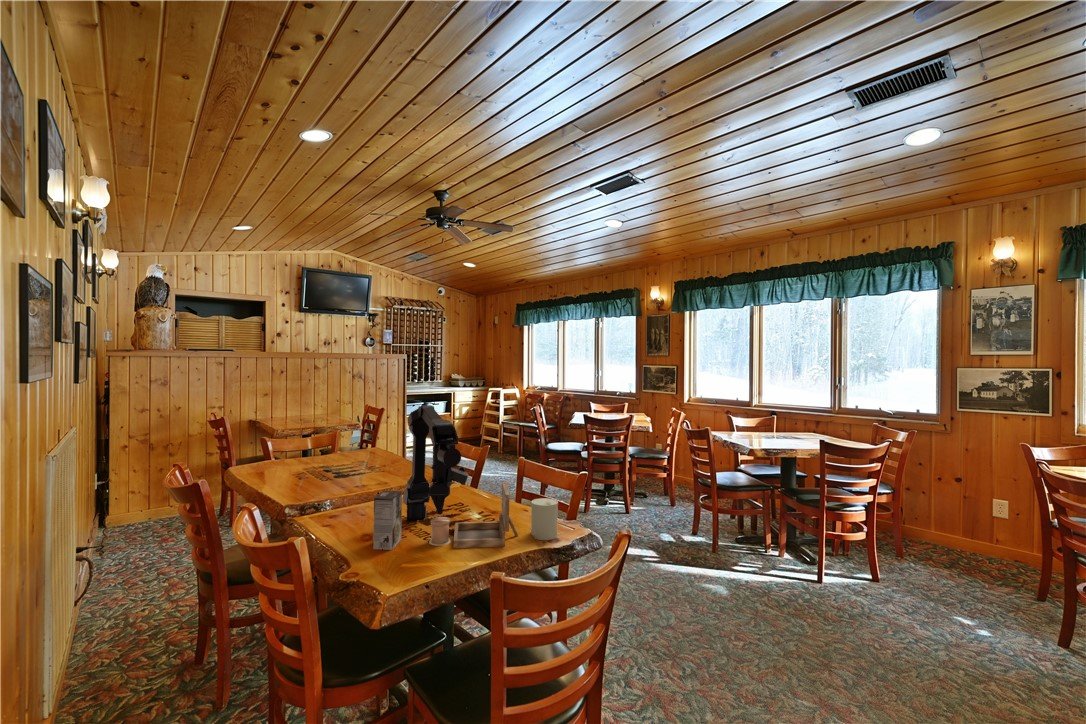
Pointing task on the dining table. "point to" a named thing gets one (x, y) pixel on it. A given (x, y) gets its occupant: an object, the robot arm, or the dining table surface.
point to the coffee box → (387, 520)
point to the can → (544, 518)
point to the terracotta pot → (440, 530)
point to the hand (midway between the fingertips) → (441, 509)
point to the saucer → (439, 544)
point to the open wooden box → (485, 528)
